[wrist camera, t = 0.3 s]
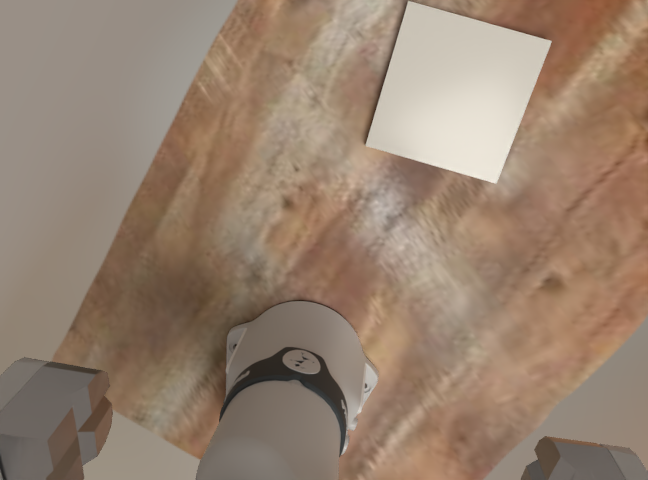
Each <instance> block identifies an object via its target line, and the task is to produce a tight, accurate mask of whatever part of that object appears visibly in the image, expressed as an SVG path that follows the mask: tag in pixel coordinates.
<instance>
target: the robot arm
mask: <svg viewBox="0 0 648 480" xmlns="http://www.w3.org/2000/svg"><path fill="white" fill-rule="evenodd" d="M235 344H237V346H235ZM378 377H379V374H378V371H377V369H376V368H375V367H374V365H373V364H372V363H371V362H370V361H369V360H368V359H367V358H366V356H365V355H364V352H363V350H362V347H361V344H360V341H359V338H358V336H357V334H356V333H355V331H354V329H353V328H352V326H351V325H350V324H349V323H348V322H347V321H346V320H345V319H344V318H343V317H342V316H341V315H339V314H338V313H337V312H335V311H333V310H332V309H330V308H328V307H325V306H323V305H320V304H317V303H313V302H306V301H293V302H286V303H282V304H279V305H276V306H274V307H272V308H270V309H268V310H267V311H265V312H264V313H263V314H261V315H260V316H259V317H258V318H256V319H255V320H253V321H252V322H249V323H245V324H241V325H238V326H235V327H233V328H232V329H230V331H229V333H228V336H227V358H226V397H225V400H224V402H223V403H224V404H223V407H222V409H221V413H220V419H219V424H218V426H217V428H216V430H215V433H214V435H213V437H212V439H211V441H210V443H209V445H208V447H207V449H206V451H205V453H204V455H203V457H202V459H201V461H200V464H199V466H198V470H197V474H196V480H339V458H340V455H341V454H343V453H344V452H345V450H346V448H347V446H348V443H349V436H348V434H347V431H348V429H349V430H352V431H353V430H354V429H355V428H356V425H357V422H358V419H357V418H355V417H356V416H357V414H358V413H360V412H361V410H362V406H363V405H364V403H365V401H366V400H367V398H368V397H369V395H370V393H371V392H372V390H373V389H374V387H375V386H376V384H377V382H378ZM365 383H366V384H367V385H365ZM109 387H110V384H109V378H108V373H107V372H104V371H102V370H96V369H90V368H85V367H79V366H73V365H67V364H62V363H56V362H48V361H42V360H36V359H31V358H25V357H24V358H22V359H20V360H17V361H15V362H14V363H13V364H12V365H11V366H10V367H9V368H8V369H7V370H6V371H5V372H4V373H3V374H2V375H1V376H0V480H84V474H83V467H82V466H83V465H84V464H86V463H87V462H89V461H91V460H92V459H94V458H95V457H97V456H98V454H99V453H100V451H101V449H102V447H103V445H104V443H105V442H106V439H107V436H108V433H109V430H110V428H111V423H112V415H113V412H112V404H111V402H110V401H109V400H108V399H107V398H106V397H105V396H104V394H105V393H106V391H107V390H108V388H109ZM535 452H536V455H537V458H538V460H536V461H534V462H532V463H531V464H529V465H527V466H526V468H525V470H524V473H523V475H522V477H521V480H648V471H647V470H646V468H645V467H644V465H643V463H642V462H641V460H640V459H639V457H638V456H637V455H636V453H634V452H633V451H632V450H631V449H630V448H625V447H618V446H610V445H604V444H597V443H591V442H582V441H576V440H568V439H562V438H554V437H547V436H545V437H543V438H542V439H541V440H539V442H538V444H537V446H536V448H535Z"/></svg>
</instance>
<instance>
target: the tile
mask: <svg viewBox="0 0 648 480" xmlns="http://www.w3.org/2000/svg"><path fill="white" fill-rule="evenodd" d="M551 42H552V41H549V40H546V39H542V38H539V37H535V36H532V35H528V34H525V33H521V32H517V31H514V30H510V29H507V28H503V27H500V26H496V25H493V24H489V23H486V22H482V21H478V20H475V19H471V18H468V17H464V16H461V15H457V14H454V13H450V12H446V11H443V10H439V9H436V8H432V7H429V6H425V5H422V4H418V3H415V2H411V1H408V4H407V7H406V10H405V14H404V17H403V20H402V24H401V27H400V31H399V34H398V37H397V41H396V44H395V47H394V51H393V54H392V58H391V61H390V64H389V68H388V71H387V74H386V78H385V81H384V84H383V88H382V91H381V95H380V98H379V101H378V105H377V108H376V111H375V115H374V118H373V122H372V125H371V128H370V132H369V135H368V138H367V142H366V145H365V146H368V147H371V148H375V149H378V150H382V151H385V152H389V153H392V154H396V155H399V156H402V157H406V158H409V159H413V160H416V161H420V162H423V163H427V164H430V165H434V166H437V167H440V168H444V169H447V170H451V171H454V172H458V173H461V174H465V175H468V176H472V177H475V178H478V179H482V180H485V181H489V182H492V183H497V181H498V178H499V176H500V173H501V171H502V168H503V165H504V163H505V160H506V158H507V155H508V153H509V150H510V147H511V145H512V142H513V140H514V137H515V135H516V132H517V129H518V127H519V124H520V122H521V119H522V117H523V114H524V112H525V109H526V106H527V104H528V101H529V99H530V96H531V94H532V91H533V88H534V86H535V83H536V81H537V78H538V76H539V73H540V70H541V68H542V65H543V63H544V60H545V58H546V55H547V52H548V50H549V47H550V45H551Z"/></svg>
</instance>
